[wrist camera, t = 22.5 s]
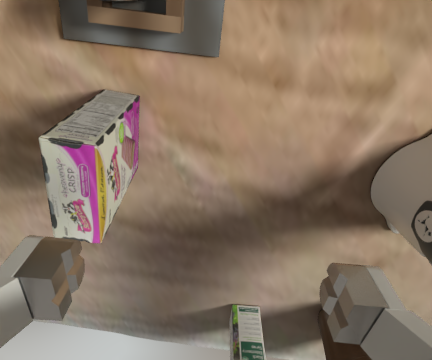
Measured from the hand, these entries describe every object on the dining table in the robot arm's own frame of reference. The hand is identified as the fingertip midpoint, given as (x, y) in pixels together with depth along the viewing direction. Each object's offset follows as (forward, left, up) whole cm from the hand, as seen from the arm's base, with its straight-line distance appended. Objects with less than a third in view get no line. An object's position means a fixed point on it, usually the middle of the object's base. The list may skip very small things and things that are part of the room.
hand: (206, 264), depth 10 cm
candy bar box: (+12, +9, -31) cm, 35 cm away
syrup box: (-11, +47, -31) cm, 58 cm away
